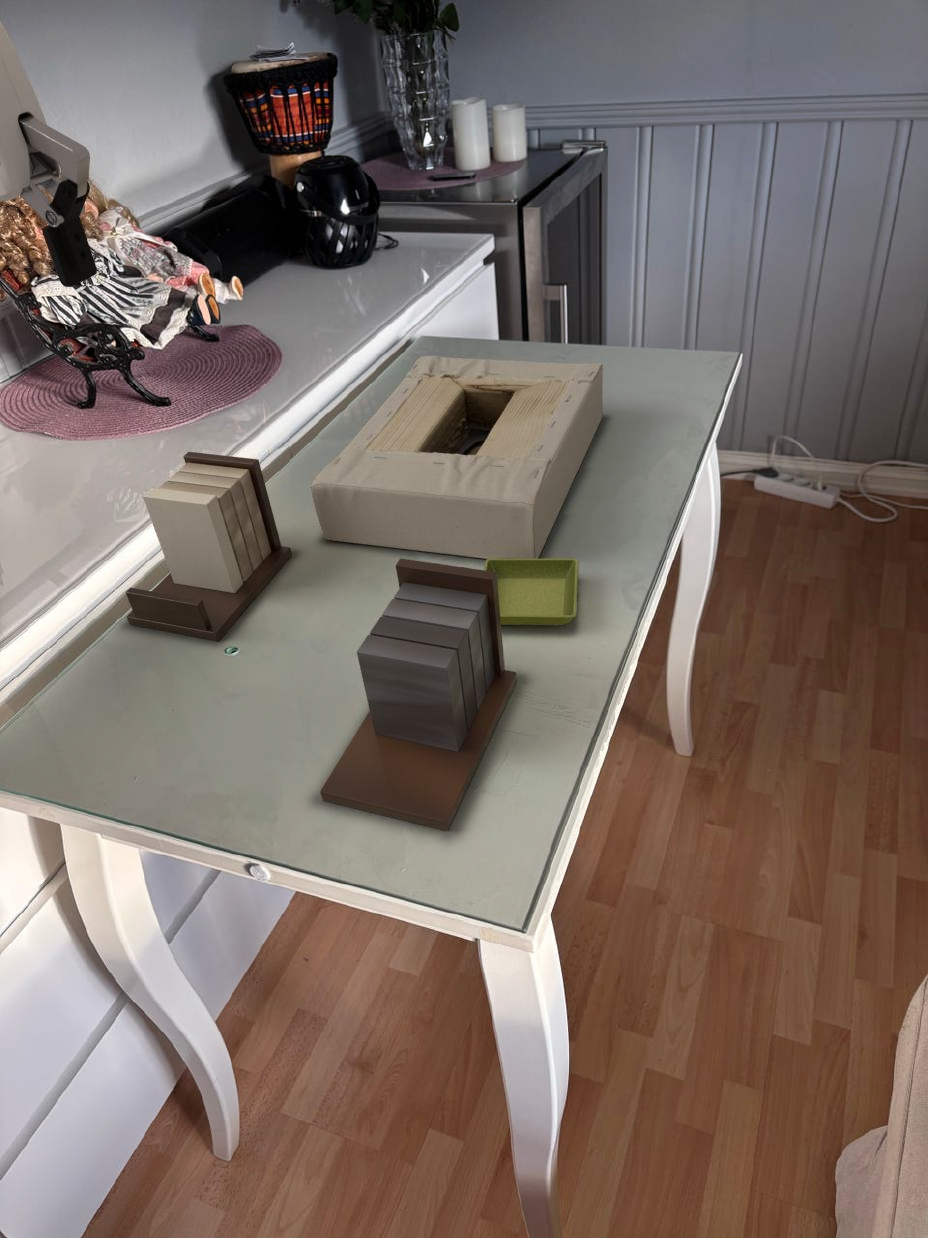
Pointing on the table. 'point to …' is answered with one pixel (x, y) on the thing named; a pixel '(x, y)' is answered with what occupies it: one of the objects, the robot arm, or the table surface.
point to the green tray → (536, 590)
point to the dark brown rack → (250, 542)
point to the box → (465, 458)
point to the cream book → (194, 539)
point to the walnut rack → (426, 696)
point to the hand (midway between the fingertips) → (27, 278)
